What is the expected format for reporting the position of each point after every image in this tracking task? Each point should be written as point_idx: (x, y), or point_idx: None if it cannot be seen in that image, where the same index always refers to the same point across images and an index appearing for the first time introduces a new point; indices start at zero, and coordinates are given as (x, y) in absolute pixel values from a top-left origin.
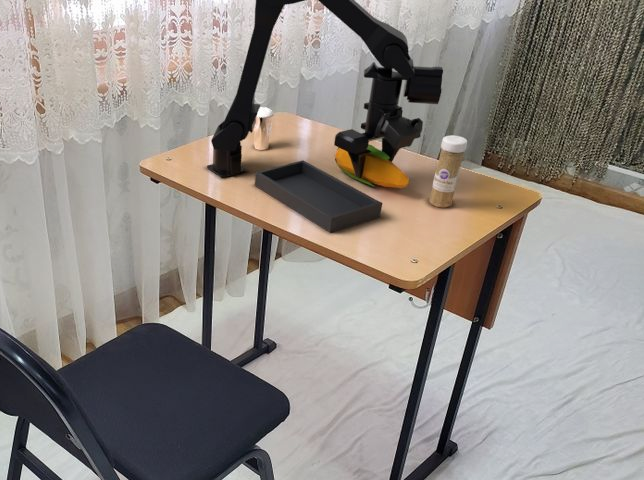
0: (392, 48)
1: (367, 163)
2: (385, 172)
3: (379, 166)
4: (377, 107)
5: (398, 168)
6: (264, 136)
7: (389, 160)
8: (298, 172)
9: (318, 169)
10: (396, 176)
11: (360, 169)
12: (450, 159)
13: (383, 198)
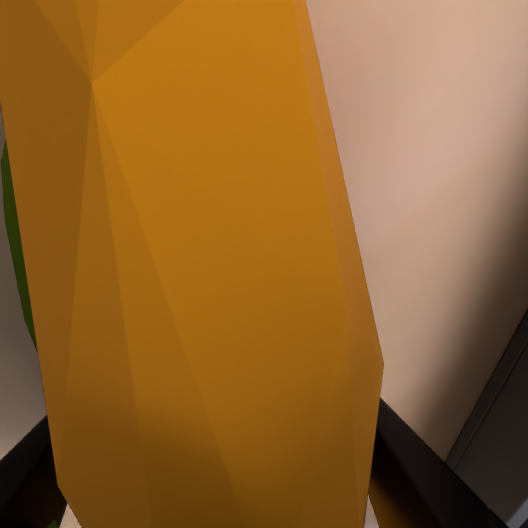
0: None
1: (363, 523)
2: (357, 299)
3: (358, 445)
4: None
5: (95, 262)
6: None
7: (5, 514)
8: None
9: (516, 519)
10: (304, 59)
11: (438, 461)
12: None
13: (359, 84)
